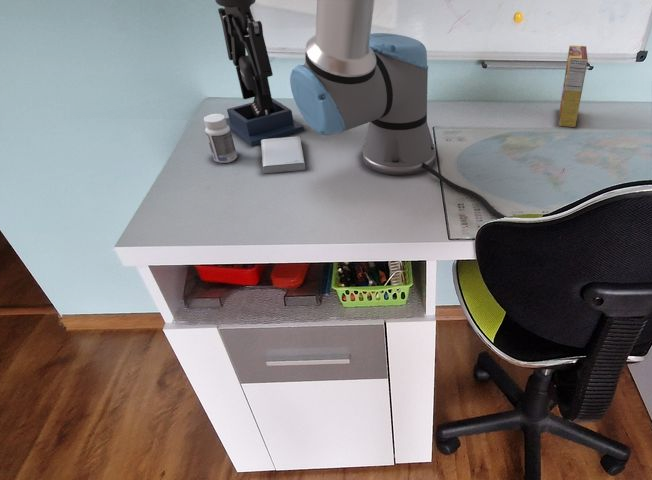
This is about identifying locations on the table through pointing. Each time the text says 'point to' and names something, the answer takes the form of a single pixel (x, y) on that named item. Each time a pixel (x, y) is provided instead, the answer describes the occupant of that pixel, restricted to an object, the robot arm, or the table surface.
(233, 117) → the holder
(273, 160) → the hard drive
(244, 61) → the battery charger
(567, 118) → the candy box
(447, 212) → the table surface
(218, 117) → the pill bottle
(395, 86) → the robot arm
